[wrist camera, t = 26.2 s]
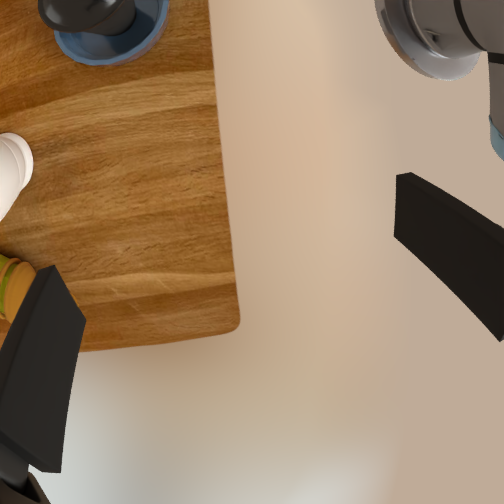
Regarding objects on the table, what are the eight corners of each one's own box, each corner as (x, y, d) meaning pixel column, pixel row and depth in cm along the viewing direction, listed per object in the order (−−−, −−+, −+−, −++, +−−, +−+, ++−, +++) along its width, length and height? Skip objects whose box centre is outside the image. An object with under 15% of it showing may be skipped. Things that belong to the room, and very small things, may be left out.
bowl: (160, -37, 23) (158, -52, 19) (178, 48, 30) (178, 43, 26) (61, -4, 22) (47, -13, 18) (78, 81, 29) (64, 82, 24)
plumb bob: (-35, 278, 37) (85, 326, 43) (-65, 298, 28) (67, 359, 34) (-34, 227, 35) (93, 273, 41) (-67, 241, 26) (72, 298, 32)
